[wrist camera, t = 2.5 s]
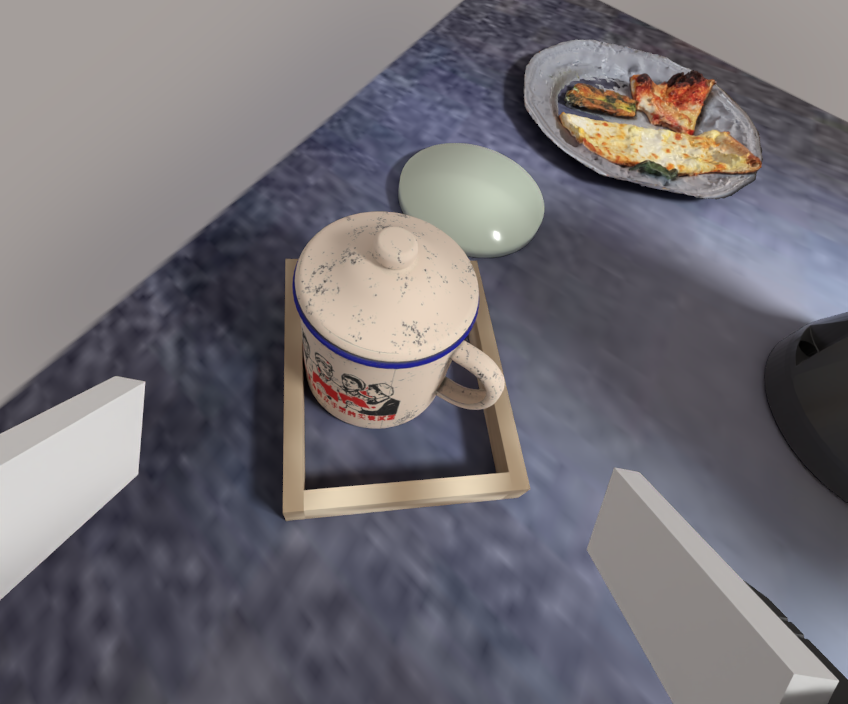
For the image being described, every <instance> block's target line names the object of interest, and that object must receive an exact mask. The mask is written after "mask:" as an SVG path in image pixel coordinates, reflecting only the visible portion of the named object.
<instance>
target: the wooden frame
mask: <svg viewBox="0 0 848 704" xmlns="http://www.w3.org/2000/svg"><path fill="white" fill-rule="evenodd" d="M297 261H298V259H285V351H284V445H283V515H284V517H285V520H286V521H289V520H299V519H309V518H319V517H329V516H339V515H349V514H359V513H369V512H379V511H389V510H399V509H409V508H419V507H429V506H439V505H449V504H459V503H469V502H479V501H489V500H499V499H509V498H518V497H520V496H521V495H522V494H524V493H525V492H527V491H528V490H529V489H530V485H529V481H528V477H527V473H526V468H525V464H524V460H523V456H522V451H521V447H520V443H519V438H518V434H517V430H516V426H515V421H514V417H513V413H512V409H511V404H510V400H509V396H508V392H507V387H506V383H505V386H504V390H503V392H502V394H501V396H500V397H499V399H498V400H497V401H496V402H495V403H494V404H493V405H491V406H490V407H488V408H485V409H483V410H484V414H485V419H486V424H487V429H488V434H489V439H490V444H491V449H492V454H493V459H494V463H495V468H496V474H484V475H473V476H461V477H450V478H438V479H427V480H416V481H404V482H393V483H381V484H370V485H358V486H347V487H336V488H324V489H313V490H305V429H304V352H303V341H302V330H301V319H300V316H299V313H298V311H297V309H296V305H295V302H294V297H293V288H292V283H293V275H294V270H295V267H296V264H297ZM470 262H471V264H472V266H473V269H474V271H475V274H476V277H477V281H478V287H479V309H478V314H477V317H476V320H475V323H474V325H473V327H472V329H471V331H470V332H469V334H468V336H469V341H470V344H471V345H473V346H474V347H476V348H478V349H479V350H481V351H482V352H484V353H485V354H486V355H488V356H489V357H490V358H491V359H492V360H493V361H494V362H495V363H496V365H497V366H498V367H499V369H500V370H501V372H502V374H503V370H502V366H501V362H500V357H499V353H498V349H497V345H496V340H495V336H494V332H493V328H492V323H491V319H490V315H489V310H488V306H487V302H486V298H485V293H484V289H483V285H482V281H481V276H480V272H479V268H478V264H477V261H470ZM503 377H504V374H503ZM477 380H478V385H479V389H485V387H484V386H483V384H482V383H481V381H480V380H479V379H478V378H477ZM504 381H505V379H504Z"/></svg>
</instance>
